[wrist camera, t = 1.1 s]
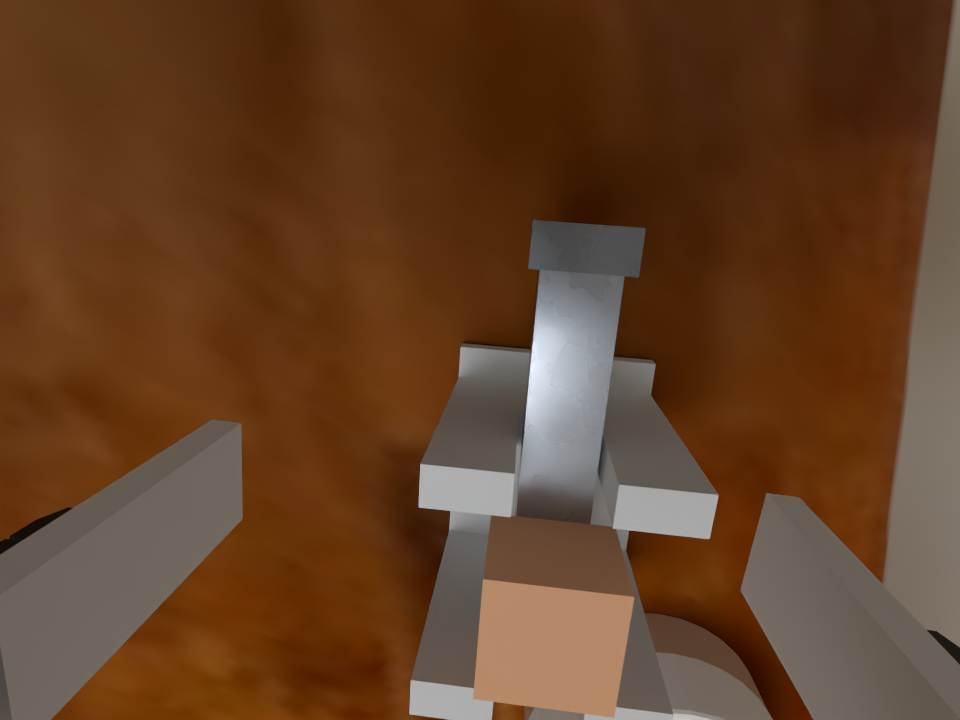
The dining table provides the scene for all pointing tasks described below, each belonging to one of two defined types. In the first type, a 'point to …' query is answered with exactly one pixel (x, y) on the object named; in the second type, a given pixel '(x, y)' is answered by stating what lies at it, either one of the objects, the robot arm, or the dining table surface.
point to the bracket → (492, 491)
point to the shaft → (571, 362)
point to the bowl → (693, 676)
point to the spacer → (553, 616)
